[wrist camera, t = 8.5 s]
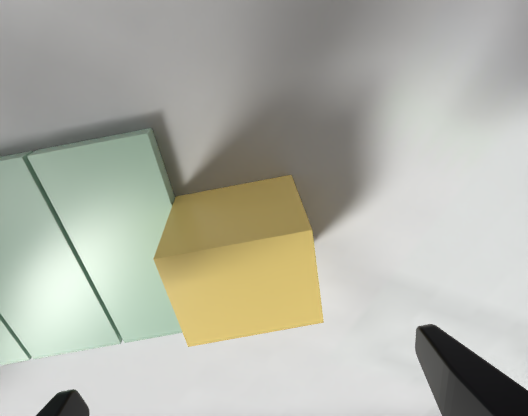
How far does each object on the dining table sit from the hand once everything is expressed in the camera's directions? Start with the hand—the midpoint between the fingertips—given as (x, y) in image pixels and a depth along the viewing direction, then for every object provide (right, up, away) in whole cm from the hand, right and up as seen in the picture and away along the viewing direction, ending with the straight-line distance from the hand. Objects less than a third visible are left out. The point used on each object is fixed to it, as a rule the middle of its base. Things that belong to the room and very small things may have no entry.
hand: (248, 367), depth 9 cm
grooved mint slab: (-7, +2, +7) cm, 10 cm away
